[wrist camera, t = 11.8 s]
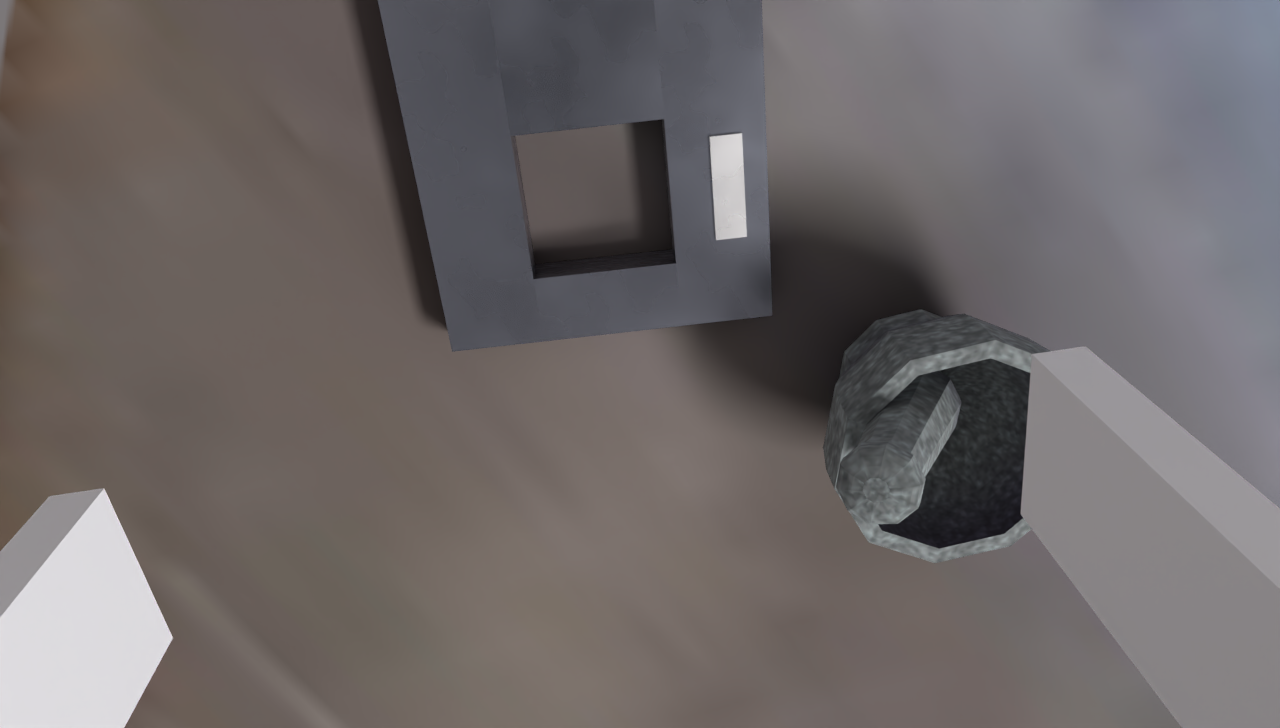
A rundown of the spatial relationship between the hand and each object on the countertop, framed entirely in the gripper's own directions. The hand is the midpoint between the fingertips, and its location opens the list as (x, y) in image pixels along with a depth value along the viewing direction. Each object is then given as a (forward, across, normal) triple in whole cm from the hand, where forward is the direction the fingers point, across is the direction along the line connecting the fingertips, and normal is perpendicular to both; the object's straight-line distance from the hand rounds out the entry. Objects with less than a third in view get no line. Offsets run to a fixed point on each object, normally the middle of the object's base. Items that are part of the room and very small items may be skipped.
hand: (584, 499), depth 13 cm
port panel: (+24, -1, -3) cm, 25 cm away
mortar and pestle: (+25, -12, +12) cm, 30 cm away
